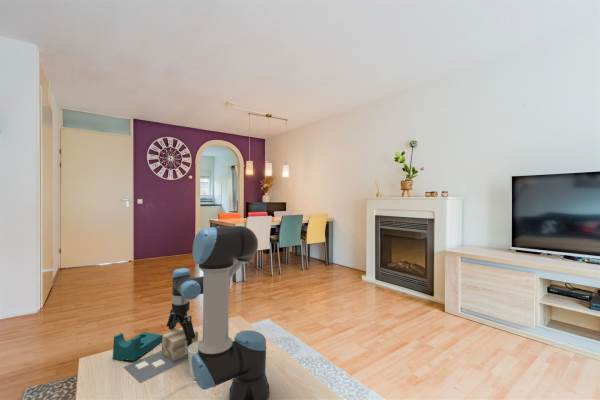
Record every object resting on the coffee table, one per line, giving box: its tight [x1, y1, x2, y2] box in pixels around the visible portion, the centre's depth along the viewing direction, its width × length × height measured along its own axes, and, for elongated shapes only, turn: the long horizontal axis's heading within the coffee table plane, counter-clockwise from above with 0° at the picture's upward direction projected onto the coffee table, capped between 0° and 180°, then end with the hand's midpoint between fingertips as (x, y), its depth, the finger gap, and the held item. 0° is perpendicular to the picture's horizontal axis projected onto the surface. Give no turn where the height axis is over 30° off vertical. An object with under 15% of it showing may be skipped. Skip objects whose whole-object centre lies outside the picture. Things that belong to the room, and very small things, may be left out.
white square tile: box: [135, 361, 149, 371], centre depth 120 cm, size 4×4×1 cm
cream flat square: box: [152, 359, 165, 369], centre depth 122 cm, size 4×4×1 cm
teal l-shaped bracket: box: [112, 331, 163, 362], centre depth 133 cm, size 18×11×10 cm, turn 168°
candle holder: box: [187, 340, 202, 382], centre depth 118 cm, size 10×10×12 cm
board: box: [123, 350, 188, 384], centre depth 126 cm, size 16×28×2 cm, turn 143°
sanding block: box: [161, 327, 199, 363], centre depth 131 cm, size 10×12×9 cm
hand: (180, 347), depth 131 cm, fingers open, 13 cm apart
